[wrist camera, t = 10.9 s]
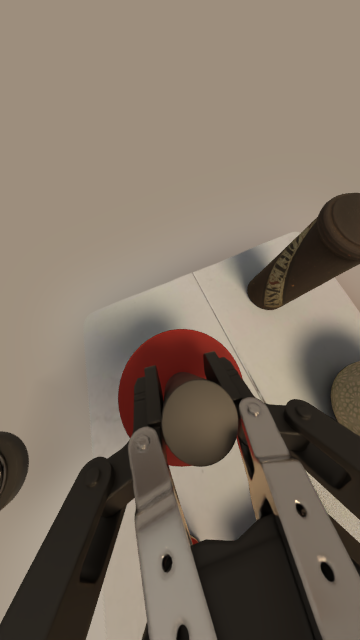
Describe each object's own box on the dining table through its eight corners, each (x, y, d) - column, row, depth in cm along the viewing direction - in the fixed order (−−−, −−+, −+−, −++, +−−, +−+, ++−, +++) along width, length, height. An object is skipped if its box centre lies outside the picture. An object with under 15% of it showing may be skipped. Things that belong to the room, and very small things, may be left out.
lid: (154, 491, 13) (131, 714, 5) (101, 364, 15) (20, 364, 7) (264, 415, 15) (385, 478, 7) (203, 312, 17) (237, 262, 9)
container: (241, 277, 38) (320, 186, 18) (278, 272, 39) (389, 182, 19) (252, 314, 36) (353, 254, 16) (291, 308, 37) (428, 245, 17)
